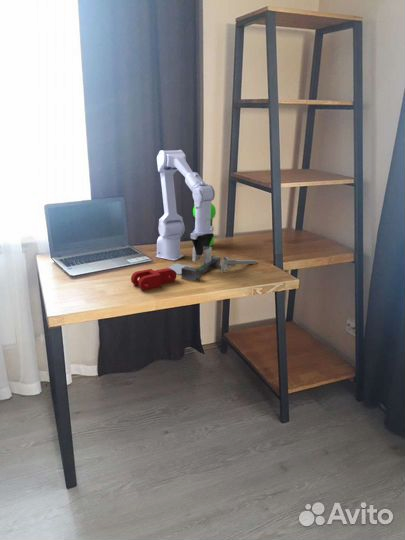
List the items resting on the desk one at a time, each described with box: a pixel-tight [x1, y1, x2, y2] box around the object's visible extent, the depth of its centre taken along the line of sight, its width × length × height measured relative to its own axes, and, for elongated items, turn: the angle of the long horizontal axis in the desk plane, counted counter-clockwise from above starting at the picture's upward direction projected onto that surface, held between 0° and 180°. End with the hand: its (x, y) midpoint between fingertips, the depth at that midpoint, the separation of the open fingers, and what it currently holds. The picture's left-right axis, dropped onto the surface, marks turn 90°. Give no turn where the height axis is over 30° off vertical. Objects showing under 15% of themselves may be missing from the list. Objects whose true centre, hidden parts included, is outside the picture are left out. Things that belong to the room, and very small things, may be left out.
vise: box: [180, 255, 221, 282], centre depth 174 cm, size 6×20×4 cm, turn 151°
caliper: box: [220, 256, 258, 273], centre depth 181 cm, size 20×1×6 cm, turn 132°
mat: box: [167, 263, 194, 276], centre depth 177 cm, size 8×10×1 cm
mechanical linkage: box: [130, 267, 177, 292], centre depth 161 cm, size 16×7×5 cm, turn 126°
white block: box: [192, 246, 213, 264], centre depth 172 cm, size 6×4×6 cm, turn 61°
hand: (201, 253), depth 172 cm, fingers closed on white block, 4 cm apart
